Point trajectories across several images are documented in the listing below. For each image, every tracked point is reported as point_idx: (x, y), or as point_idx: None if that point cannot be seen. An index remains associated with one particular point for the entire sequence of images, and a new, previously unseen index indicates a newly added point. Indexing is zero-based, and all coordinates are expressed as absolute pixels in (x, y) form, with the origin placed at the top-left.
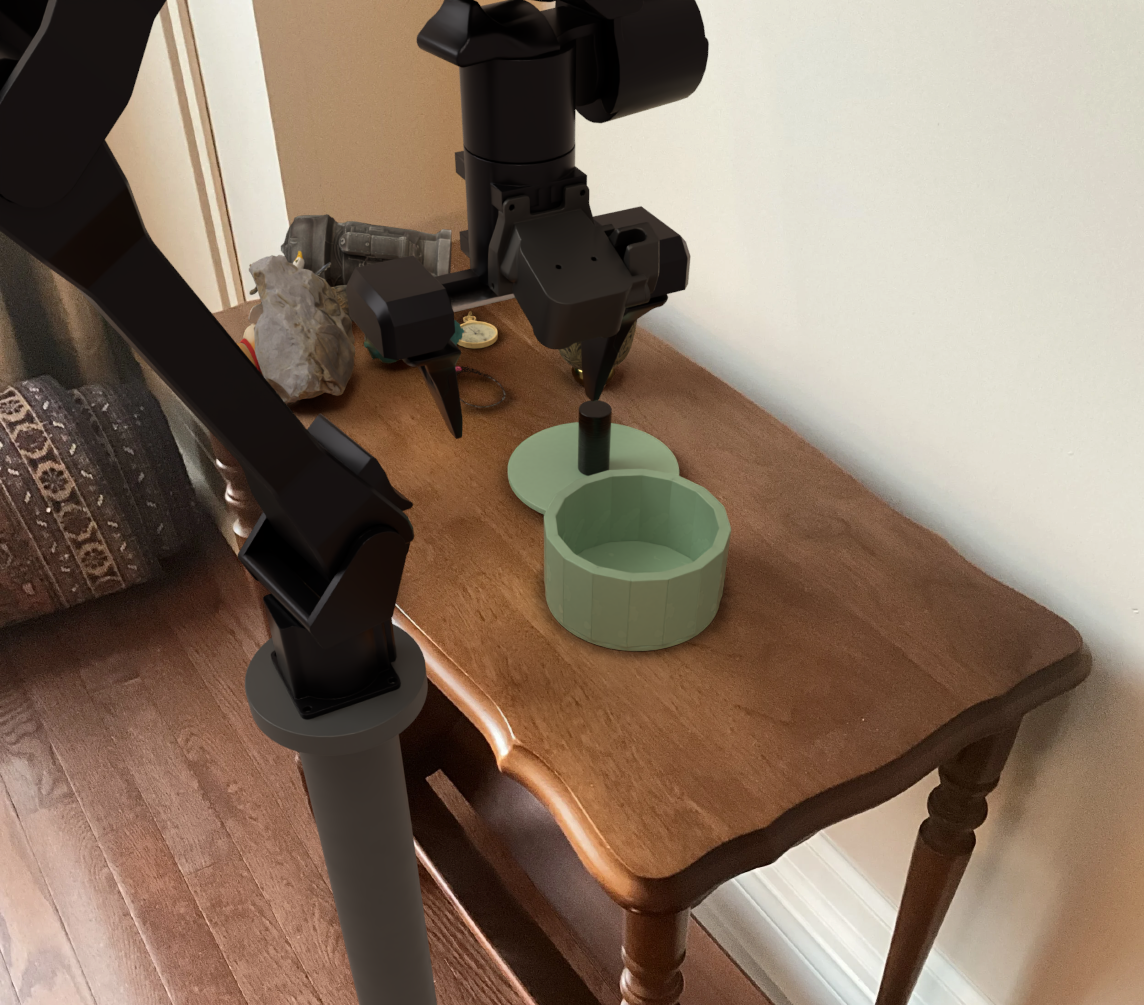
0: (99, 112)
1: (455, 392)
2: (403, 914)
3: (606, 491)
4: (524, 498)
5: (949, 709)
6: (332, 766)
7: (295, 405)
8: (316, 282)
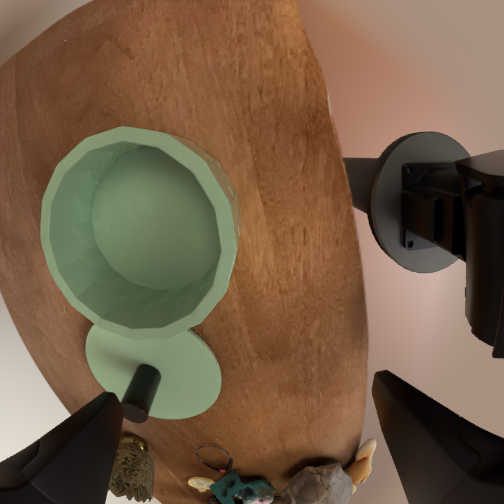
0: None
1: (439, 432)
2: None
3: (142, 319)
4: (215, 362)
5: (23, 50)
6: None
7: (328, 462)
8: None
